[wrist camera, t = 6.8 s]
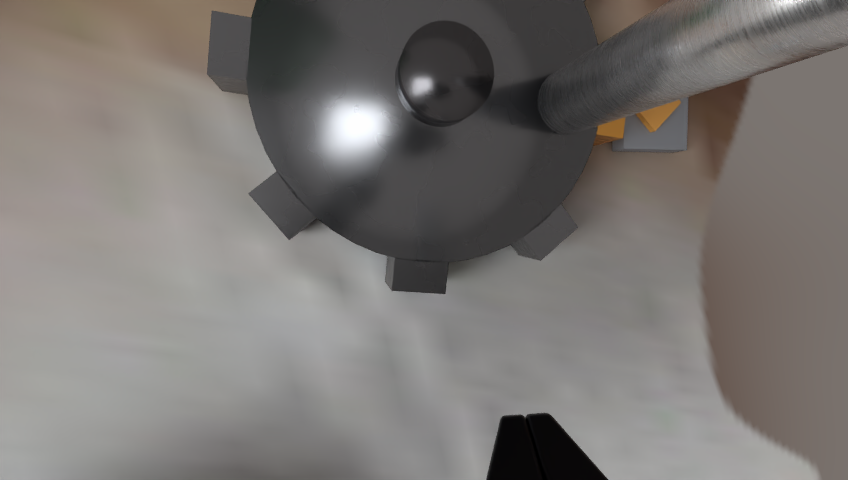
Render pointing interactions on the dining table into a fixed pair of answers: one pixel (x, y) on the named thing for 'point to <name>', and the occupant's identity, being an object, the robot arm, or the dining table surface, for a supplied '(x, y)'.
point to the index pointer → (656, 129)
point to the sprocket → (472, 108)
